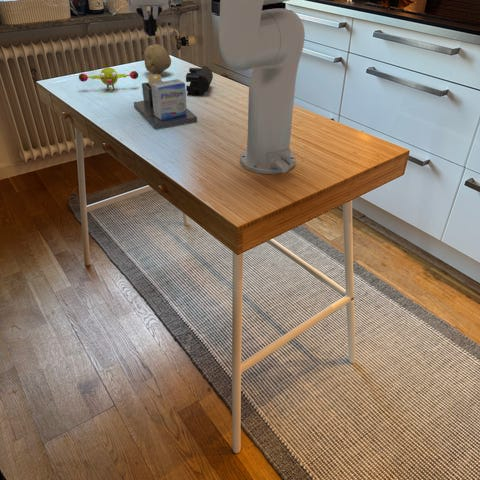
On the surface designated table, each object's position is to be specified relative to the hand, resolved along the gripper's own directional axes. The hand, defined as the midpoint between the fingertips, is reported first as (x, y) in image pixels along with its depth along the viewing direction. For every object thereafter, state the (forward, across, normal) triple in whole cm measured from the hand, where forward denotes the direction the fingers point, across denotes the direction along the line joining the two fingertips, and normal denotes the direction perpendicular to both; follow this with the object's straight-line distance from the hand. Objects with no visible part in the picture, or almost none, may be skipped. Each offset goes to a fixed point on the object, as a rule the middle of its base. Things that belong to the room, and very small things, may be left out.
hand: (150, 35), depth 118 cm
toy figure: (+20, +8, -21) cm, 30 cm away
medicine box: (+18, 0, +11) cm, 21 cm away
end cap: (+20, -17, -8) cm, 28 cm away
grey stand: (+20, 0, +6) cm, 20 cm away
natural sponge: (+20, -11, -30) cm, 38 cm away
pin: (+16, 0, 0) cm, 16 cm away
